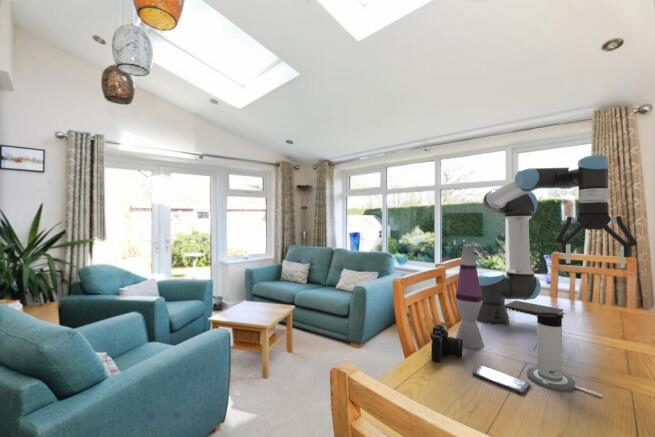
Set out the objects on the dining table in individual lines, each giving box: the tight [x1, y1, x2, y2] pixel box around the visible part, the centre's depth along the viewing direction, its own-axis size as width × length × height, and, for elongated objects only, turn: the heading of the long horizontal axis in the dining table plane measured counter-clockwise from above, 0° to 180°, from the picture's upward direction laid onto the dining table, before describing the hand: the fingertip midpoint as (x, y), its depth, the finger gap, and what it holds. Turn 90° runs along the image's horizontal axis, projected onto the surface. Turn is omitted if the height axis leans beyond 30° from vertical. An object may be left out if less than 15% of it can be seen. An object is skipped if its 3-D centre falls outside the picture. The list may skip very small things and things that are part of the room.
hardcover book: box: [505, 299, 564, 316], centre depth 161 cm, size 16×23×2 cm
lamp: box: [454, 244, 485, 350], centre depth 120 cm, size 11×11×40 cm
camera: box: [429, 323, 464, 364], centre depth 109 cm, size 14×11×10 cm
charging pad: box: [526, 366, 603, 398], centre depth 90 cm, size 18×12×1 cm
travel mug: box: [536, 313, 564, 382], centre depth 92 cm, size 6×7×20 cm
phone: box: [472, 365, 531, 396], centre depth 92 cm, size 14×7×1 cm, turn 40°
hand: (594, 265), depth 99 cm, fingers open, 13 cm apart
